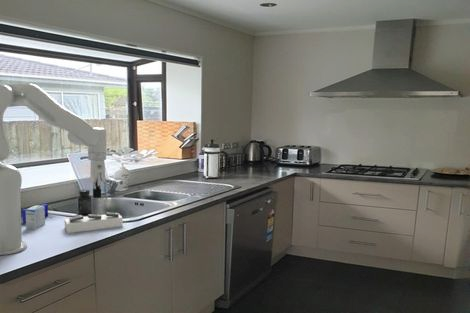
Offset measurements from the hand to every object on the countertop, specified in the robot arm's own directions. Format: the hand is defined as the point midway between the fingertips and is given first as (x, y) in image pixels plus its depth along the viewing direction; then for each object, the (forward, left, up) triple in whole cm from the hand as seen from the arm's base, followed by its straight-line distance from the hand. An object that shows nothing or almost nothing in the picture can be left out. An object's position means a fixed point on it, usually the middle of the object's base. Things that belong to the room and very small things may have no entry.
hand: (97, 197), depth 173 cm
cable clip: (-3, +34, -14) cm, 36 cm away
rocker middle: (-2, 0, -8) cm, 8 cm away
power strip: (-1, +1, -13) cm, 13 cm away
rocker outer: (+3, -5, -8) cm, 10 cm away
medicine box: (-11, +24, -14) cm, 30 cm away
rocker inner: (-8, +4, -8) cm, 12 cm away
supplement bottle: (+14, +19, -14) cm, 27 cm away
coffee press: (+137, +3, -13) cm, 137 cm away
